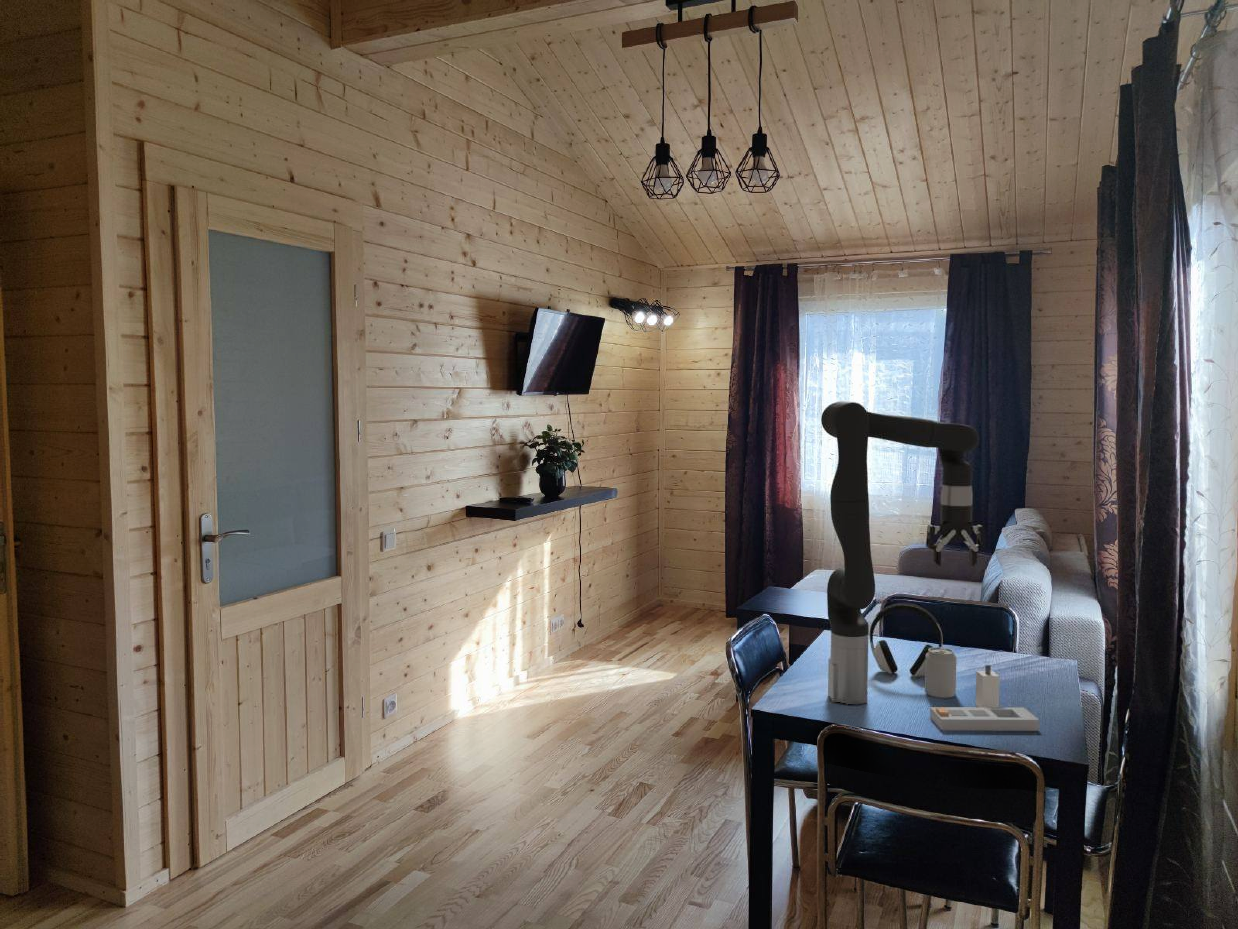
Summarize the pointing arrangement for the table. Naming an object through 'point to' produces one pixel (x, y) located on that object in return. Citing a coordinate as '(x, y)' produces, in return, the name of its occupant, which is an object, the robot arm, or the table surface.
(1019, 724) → the power strip
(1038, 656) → the table surface
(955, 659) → the can
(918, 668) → the headphones
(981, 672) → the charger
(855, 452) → the robot arm
